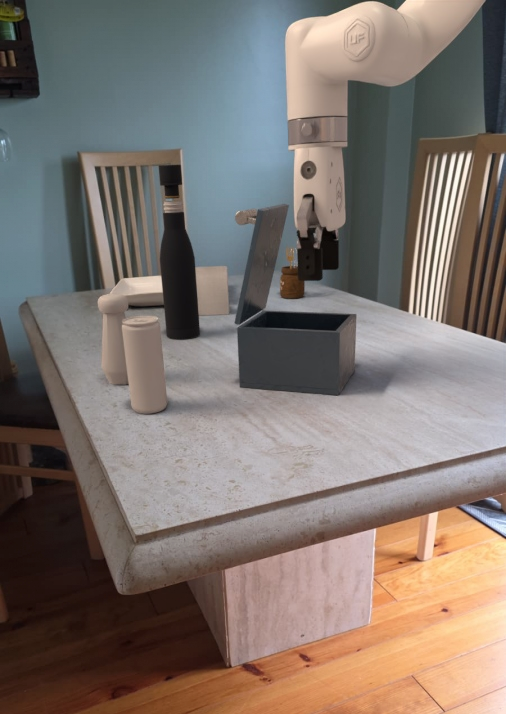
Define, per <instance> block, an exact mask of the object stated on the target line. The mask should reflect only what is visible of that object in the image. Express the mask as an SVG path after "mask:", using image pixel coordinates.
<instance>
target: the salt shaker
mask: <svg viewBox="0 0 506 714" xmlns="http://www.w3.org/2000/svg"><path fill="white" fill-rule="evenodd" d="M97 308H98V311H99V312H100V313H102V333H101V334H102V335H101V337H102V338H101V342H102V343H101V363H100V365H101V371H102V373H103V374H104V376H105V377H106V380H107V381H108V383H110V384H112V385H114V386H115V385H129V382H128V374H127V365H126V357H125V349H124V341H123V332H122V325H123V323H122V321H123V320H124V319H126V318H127V316H126V314H125V313H126V311H127V310H128V309H129V304H128V300H127V298H126V297H125V296H124V295H122V294H110V293H106V294H103V295H100V296H99V298H98V299H97Z"/></svg>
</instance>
